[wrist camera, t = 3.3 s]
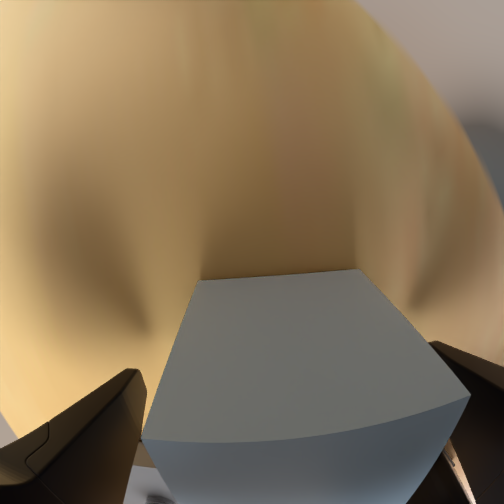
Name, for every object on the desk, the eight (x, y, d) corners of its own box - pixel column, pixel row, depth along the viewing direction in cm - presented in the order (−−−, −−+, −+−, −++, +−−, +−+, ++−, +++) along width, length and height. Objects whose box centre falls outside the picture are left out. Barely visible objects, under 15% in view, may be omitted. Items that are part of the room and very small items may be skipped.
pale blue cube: (359, 268, 9) (471, 394, 3) (346, 388, 11) (394, 517, 5) (198, 280, 9) (140, 438, 3) (217, 399, 11) (204, 540, 5)
